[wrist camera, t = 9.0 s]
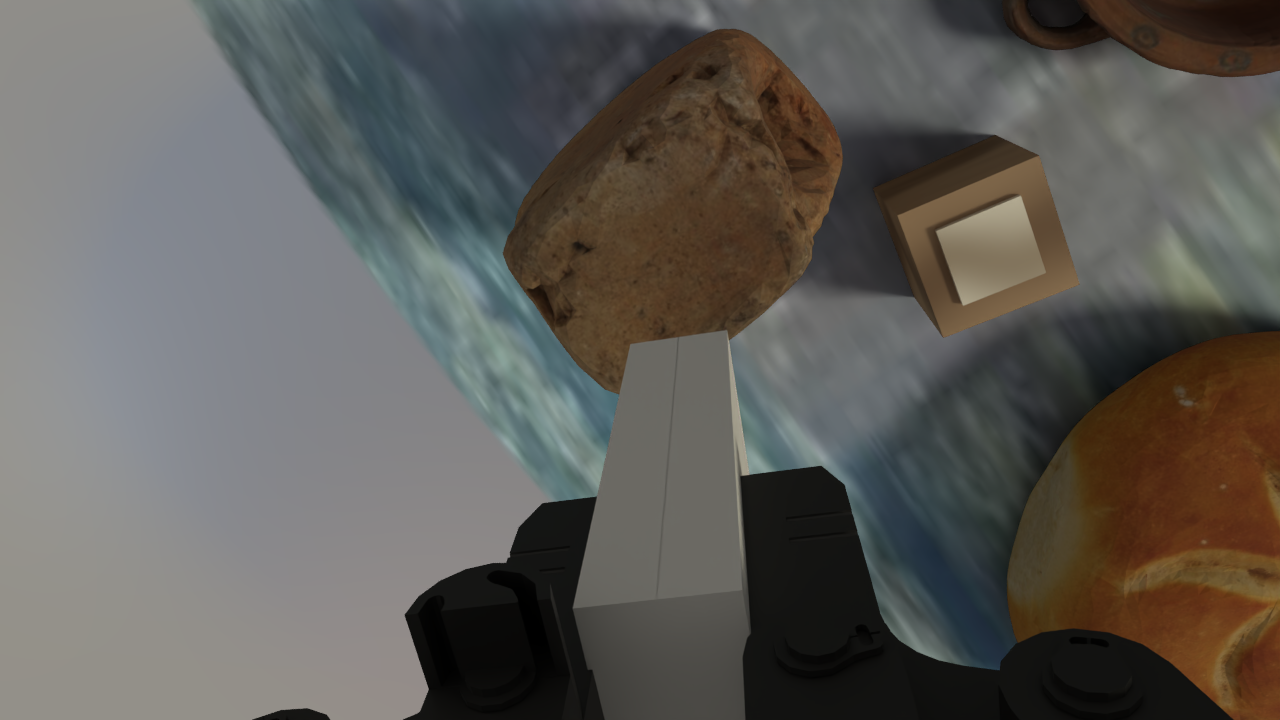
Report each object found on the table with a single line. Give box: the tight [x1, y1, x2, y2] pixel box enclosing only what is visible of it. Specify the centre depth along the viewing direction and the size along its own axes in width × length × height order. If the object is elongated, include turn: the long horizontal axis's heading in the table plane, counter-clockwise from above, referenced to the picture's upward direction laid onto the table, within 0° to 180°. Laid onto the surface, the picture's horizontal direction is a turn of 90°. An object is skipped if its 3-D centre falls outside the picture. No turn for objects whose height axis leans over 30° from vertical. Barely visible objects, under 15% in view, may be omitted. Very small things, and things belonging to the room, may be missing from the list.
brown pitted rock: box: [503, 29, 843, 394], centre depth 35 cm, size 11×8×20 cm
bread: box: [1007, 331, 1280, 720], centre depth 45 cm, size 23×23×10 cm
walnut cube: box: [873, 135, 1080, 338], centre depth 42 cm, size 6×6×6 cm
